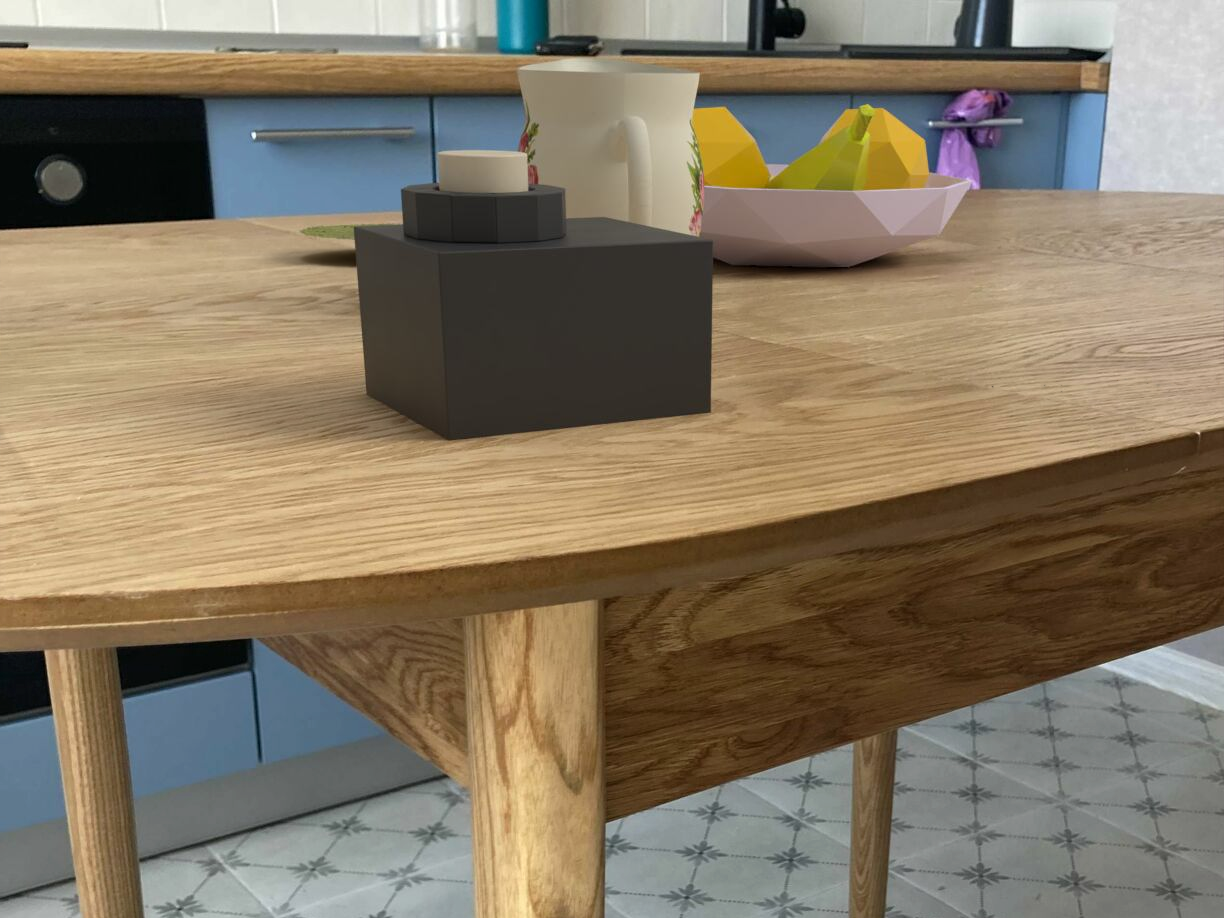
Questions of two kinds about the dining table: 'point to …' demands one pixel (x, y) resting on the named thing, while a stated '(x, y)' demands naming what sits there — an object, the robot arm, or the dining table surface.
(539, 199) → the base
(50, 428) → the dining table surface
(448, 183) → the lid button
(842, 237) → the fruit bowl
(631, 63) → the pitcher
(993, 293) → the dining table surface
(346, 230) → the mat
